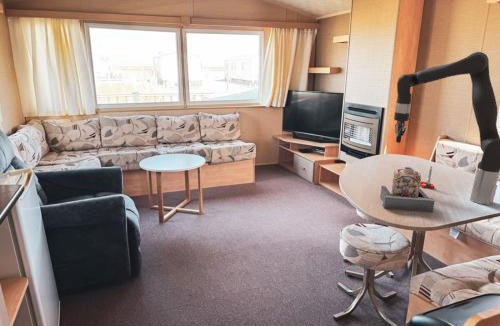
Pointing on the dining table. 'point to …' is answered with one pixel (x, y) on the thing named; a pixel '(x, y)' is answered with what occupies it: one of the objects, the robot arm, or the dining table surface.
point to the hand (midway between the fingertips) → (398, 142)
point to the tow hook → (428, 184)
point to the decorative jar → (406, 182)
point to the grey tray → (407, 201)
